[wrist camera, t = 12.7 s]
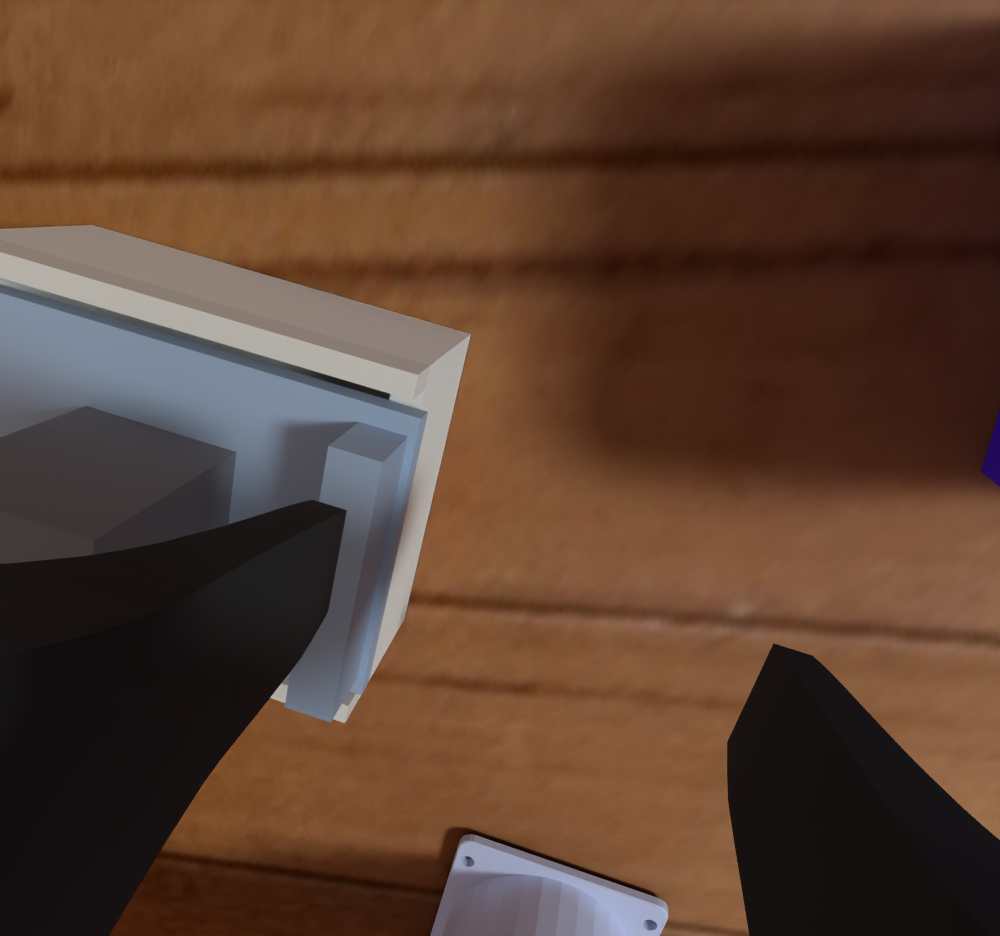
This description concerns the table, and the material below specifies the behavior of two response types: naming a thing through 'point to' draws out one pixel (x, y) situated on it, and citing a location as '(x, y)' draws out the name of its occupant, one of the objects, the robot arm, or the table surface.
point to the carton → (261, 343)
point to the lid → (239, 450)
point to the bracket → (993, 455)
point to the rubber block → (106, 486)
